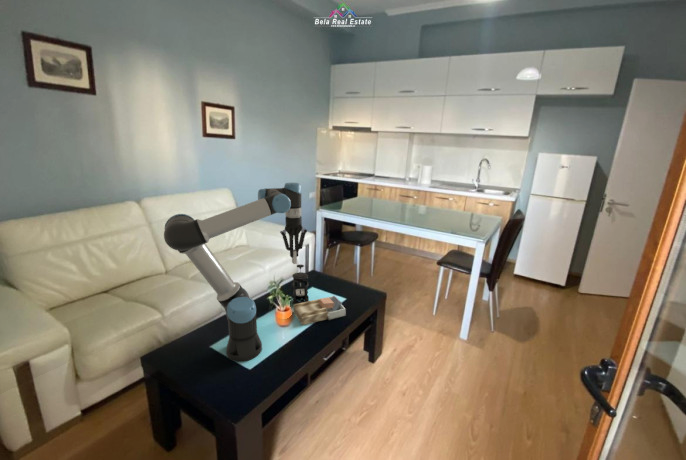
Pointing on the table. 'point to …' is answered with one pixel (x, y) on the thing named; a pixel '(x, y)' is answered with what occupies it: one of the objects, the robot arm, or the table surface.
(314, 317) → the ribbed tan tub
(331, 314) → the tray
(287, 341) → the table surface
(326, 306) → the terracotta tile
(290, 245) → the robot arm
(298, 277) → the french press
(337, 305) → the slate tile
